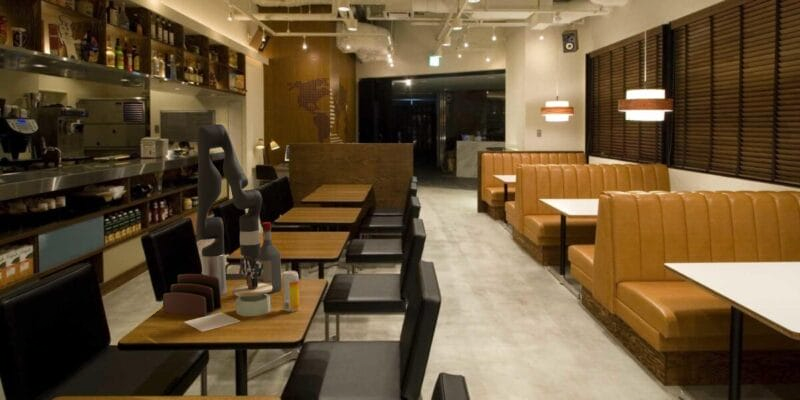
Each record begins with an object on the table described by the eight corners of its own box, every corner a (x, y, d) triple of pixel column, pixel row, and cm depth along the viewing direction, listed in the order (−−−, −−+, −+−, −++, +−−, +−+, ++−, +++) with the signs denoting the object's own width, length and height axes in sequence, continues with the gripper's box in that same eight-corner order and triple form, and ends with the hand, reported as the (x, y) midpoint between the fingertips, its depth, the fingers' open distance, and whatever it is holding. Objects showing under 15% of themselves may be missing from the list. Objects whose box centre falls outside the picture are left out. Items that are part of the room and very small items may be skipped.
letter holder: (180, 306, 241) (178, 271, 239) (222, 310, 235) (220, 275, 233) (163, 313, 232) (161, 278, 230) (206, 317, 225) (203, 281, 224)
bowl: (231, 312, 230) (231, 297, 230) (259, 305, 239) (258, 291, 238) (247, 319, 222) (246, 304, 221) (276, 312, 230) (275, 297, 229)
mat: (183, 323, 219) (183, 321, 219) (221, 314, 229) (221, 312, 229) (202, 333, 208) (202, 331, 208) (241, 322, 218) (241, 321, 218)
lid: (225, 291, 229) (224, 275, 229) (259, 283, 239) (259, 269, 239) (244, 298, 218) (243, 282, 218) (279, 290, 229) (279, 275, 228)
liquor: (270, 286, 267) (267, 220, 264) (284, 289, 262) (281, 222, 258) (254, 291, 260) (251, 223, 256) (269, 294, 255) (265, 225, 251)
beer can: (302, 308, 234) (300, 270, 232) (294, 312, 229) (293, 274, 227) (288, 306, 236) (287, 270, 234) (281, 311, 231) (279, 273, 229)
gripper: (232, 241, 229) (234, 285, 231) (250, 246, 219) (253, 291, 221) (249, 238, 234) (251, 281, 236) (268, 243, 224) (270, 287, 226)
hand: (252, 286), depth 229 cm, fingers closed on lid, 3 cm apart
